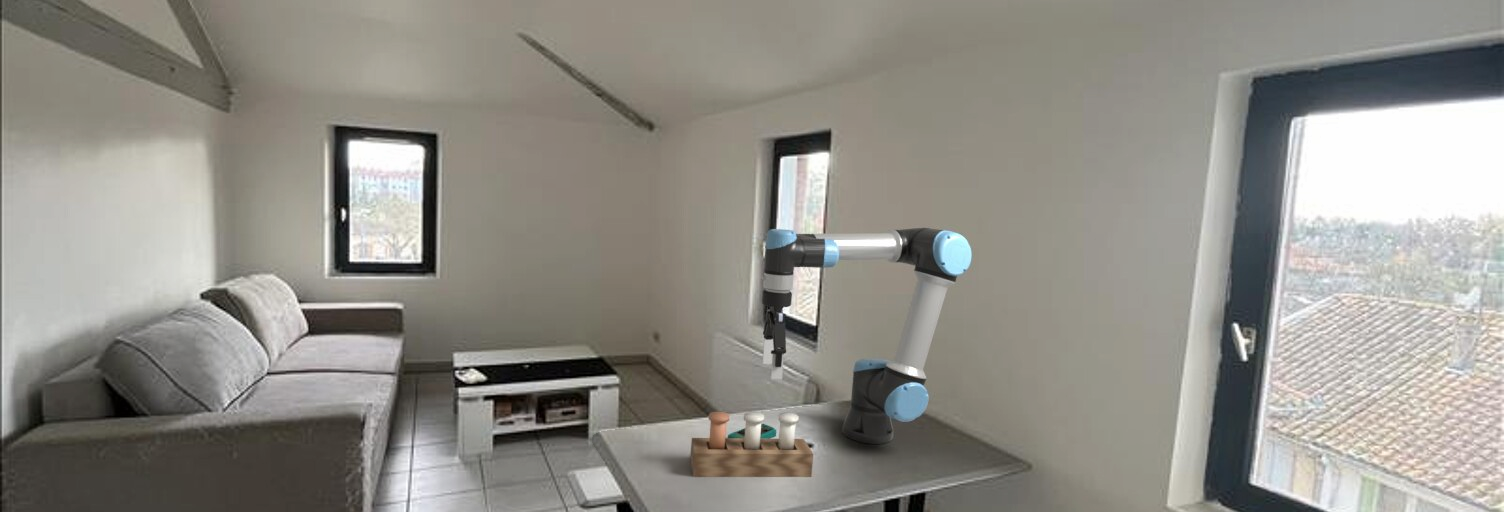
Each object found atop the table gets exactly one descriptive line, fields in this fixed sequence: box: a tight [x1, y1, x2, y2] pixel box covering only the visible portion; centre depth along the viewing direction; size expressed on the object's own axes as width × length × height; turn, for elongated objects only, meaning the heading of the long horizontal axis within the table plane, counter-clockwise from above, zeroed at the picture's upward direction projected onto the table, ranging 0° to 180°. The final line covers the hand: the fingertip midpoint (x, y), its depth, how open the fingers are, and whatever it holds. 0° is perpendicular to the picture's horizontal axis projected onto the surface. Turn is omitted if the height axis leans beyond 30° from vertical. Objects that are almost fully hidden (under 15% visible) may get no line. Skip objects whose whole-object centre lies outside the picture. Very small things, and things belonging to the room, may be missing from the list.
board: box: [689, 437, 814, 478], centre depth 174 cm, size 30×10×6 cm, turn 100°
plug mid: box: [743, 411, 765, 450], centre depth 173 cm, size 5×5×9 cm
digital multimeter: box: [727, 423, 777, 439], centre depth 194 cm, size 7×15×3 cm, turn 144°
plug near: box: [777, 412, 800, 450], centre depth 175 cm, size 5×5×9 cm
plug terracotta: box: [708, 411, 730, 450], centre depth 172 cm, size 5×5×9 cm
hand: (771, 371), depth 175 cm, fingers open, 13 cm apart
